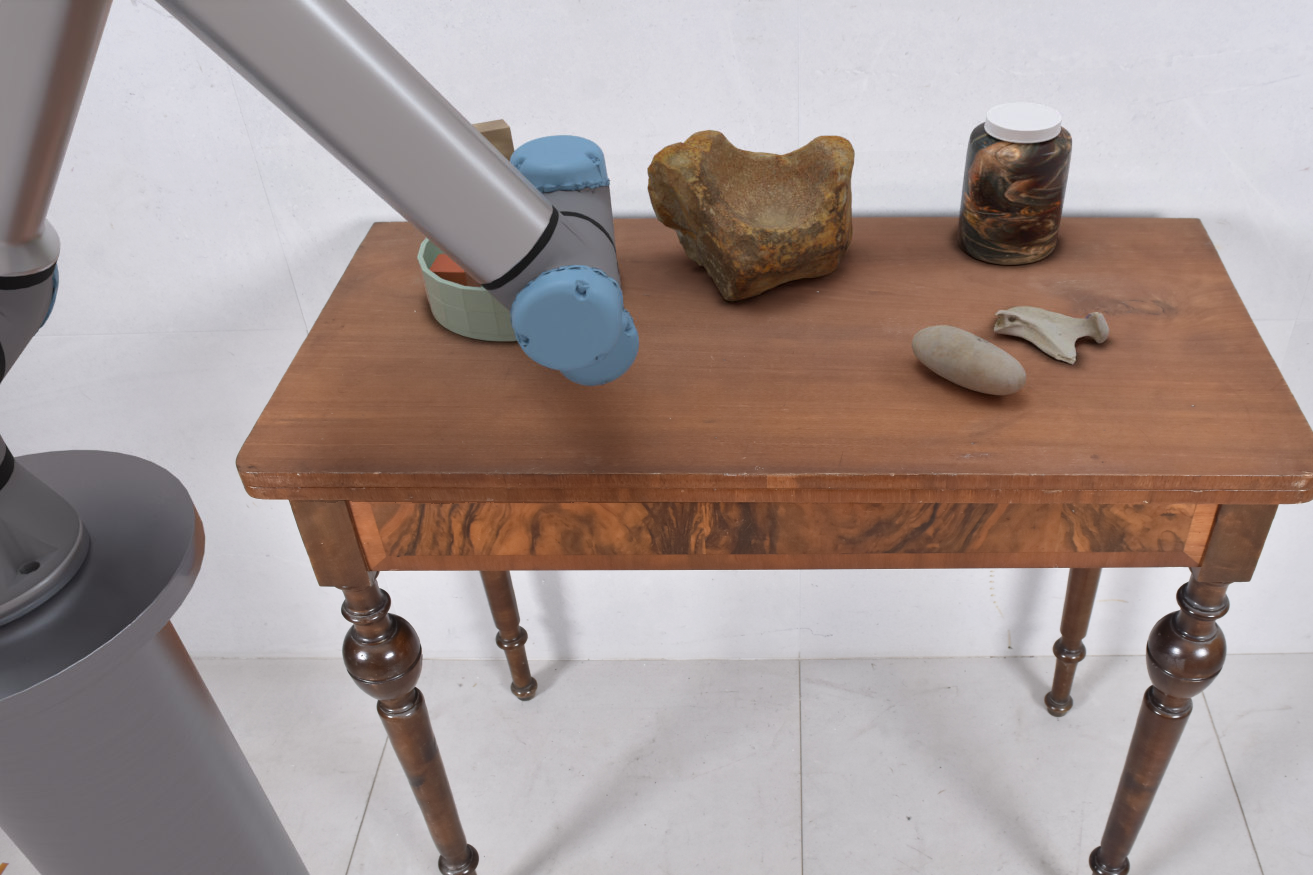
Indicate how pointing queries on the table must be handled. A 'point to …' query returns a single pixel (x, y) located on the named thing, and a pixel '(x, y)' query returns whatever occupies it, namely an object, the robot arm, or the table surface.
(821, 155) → the rough brown rock
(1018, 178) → the jar
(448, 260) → the terracotta block
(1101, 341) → the fossil
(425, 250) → the bowl
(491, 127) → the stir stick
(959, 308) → the table surface
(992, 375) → the stone
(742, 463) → the table surface
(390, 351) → the table surface
